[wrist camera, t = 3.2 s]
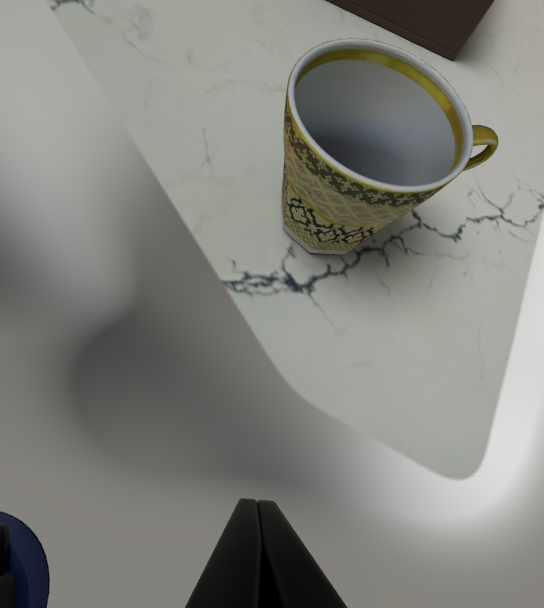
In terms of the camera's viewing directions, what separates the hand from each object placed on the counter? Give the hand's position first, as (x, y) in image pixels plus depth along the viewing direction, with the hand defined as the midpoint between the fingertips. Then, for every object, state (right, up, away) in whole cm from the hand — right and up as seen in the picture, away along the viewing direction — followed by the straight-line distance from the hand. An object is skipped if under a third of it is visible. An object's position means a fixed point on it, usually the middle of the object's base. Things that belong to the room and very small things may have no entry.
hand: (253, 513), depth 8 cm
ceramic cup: (+6, +11, +19) cm, 23 cm away
